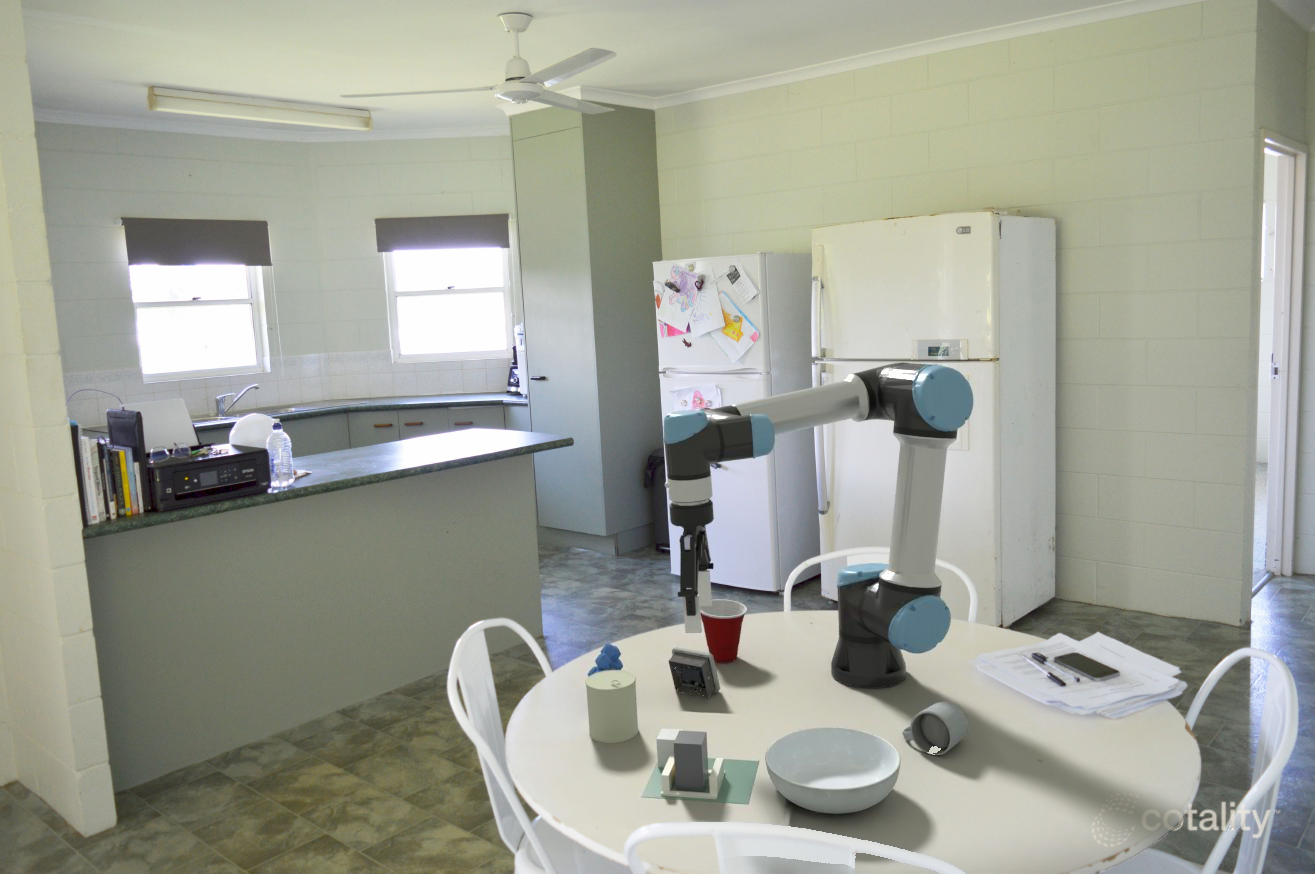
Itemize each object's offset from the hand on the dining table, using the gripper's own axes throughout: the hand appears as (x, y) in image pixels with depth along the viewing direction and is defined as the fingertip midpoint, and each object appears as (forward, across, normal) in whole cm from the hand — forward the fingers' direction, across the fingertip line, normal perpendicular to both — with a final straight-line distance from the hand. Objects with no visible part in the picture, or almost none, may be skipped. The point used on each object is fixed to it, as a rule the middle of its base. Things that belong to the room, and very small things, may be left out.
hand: (699, 618), depth 170 cm
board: (+23, +16, +1) cm, 28 cm away
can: (+23, 0, -17) cm, 29 cm away
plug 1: (+21, +11, -5) cm, 24 cm away
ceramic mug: (+24, -2, +39) cm, 46 cm away
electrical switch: (+24, -21, -6) cm, 32 cm away
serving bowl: (+24, +17, +22) cm, 37 cm away
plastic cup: (+24, -40, -2) cm, 47 cm away
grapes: (+23, -15, -23) cm, 36 cm away
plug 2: (+21, +18, 0) cm, 28 cm away
